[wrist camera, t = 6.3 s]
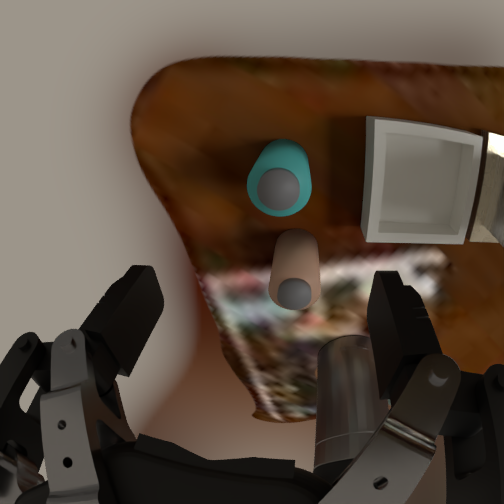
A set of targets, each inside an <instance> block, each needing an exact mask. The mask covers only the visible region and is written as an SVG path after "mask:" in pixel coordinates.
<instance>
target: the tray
mask: <svg viewBox="0 0 504 504" xmlns="http://www.w3.org/2000/svg"><path fill="white" fill-rule="evenodd" d="M482 140H483V137H481V136H479V135H476V134H474V133H471V132H469V131H465V130H461V129H456V128H451V127H446V126H441V125H435V124H430V123H423V122H417V121H410V120H402V119H394V118H384V117H374V116H366V155H365V177H364V193H363V205H362V216H361V226H360V227H361V230H362V232H363V235H364V238H365V240H366V242H390V243H436V244H463V242H464V239H465V235H466V231H467V228H468V224H469V220H470V215H471V211H472V206H473V202H474V197H475V191H476V186H477V180H478V174H479V167H480V159H481V151H482Z"/></svg>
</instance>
